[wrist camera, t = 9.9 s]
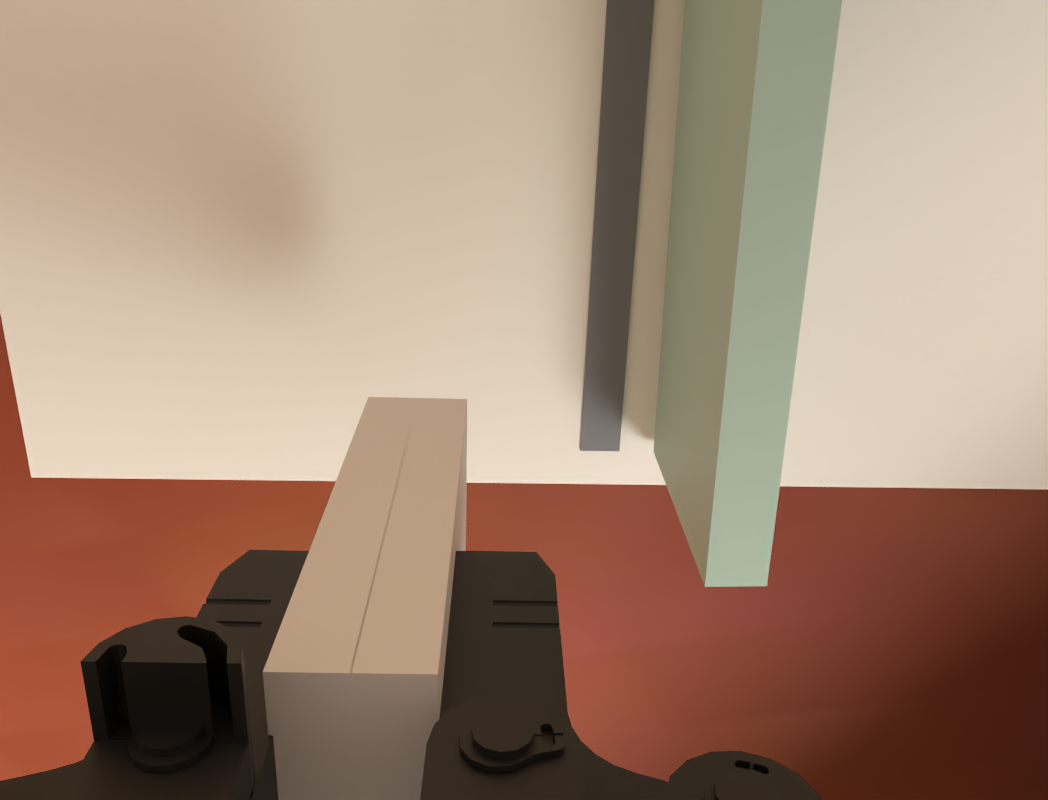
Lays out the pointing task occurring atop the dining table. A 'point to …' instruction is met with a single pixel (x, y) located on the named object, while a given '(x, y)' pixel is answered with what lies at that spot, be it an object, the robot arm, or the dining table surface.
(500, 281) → the card
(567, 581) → the dining table surface
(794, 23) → the green fence panel
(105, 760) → the robot arm
